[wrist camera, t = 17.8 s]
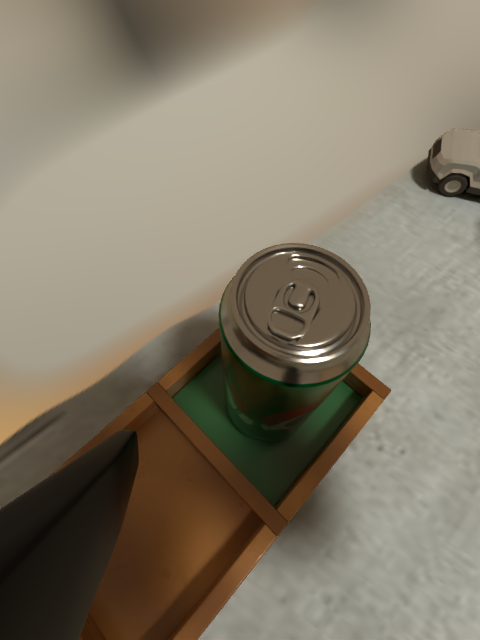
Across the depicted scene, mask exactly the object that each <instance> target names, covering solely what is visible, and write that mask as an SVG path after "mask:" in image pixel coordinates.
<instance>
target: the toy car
mask: <svg viewBox="0 0 480 640" xmlns="http://www.w3.org/2000/svg"><path fill="white" fill-rule="evenodd" d="M427 170H428V175H429V176H430V178H431V180H432V181H433V182H435V183H437V184H438V189H439V191H440V193H442V194H444V195H446V196H454V195H457V194H460V193H461V192H463V191H464V190H465V189H466V192H467V193H471V194H475V195H480V132H476V131H472V130H466V129H452V130H450V131H448V132H446V133H444V134H443V135H442V136H441V137H439V138H438V139H437V140H436V141H435V143H434V144H433V146H432V148H431V149H430V150H429V154H428V163H427ZM438 182H439V183H438Z"/></svg>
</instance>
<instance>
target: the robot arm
mask: <svg viewBox="0 0 480 640" xmlns="http://www.w3.org/2000/svg"><path fill="white" fill-rule="evenodd" d="M138 464H139V451H138V437H137V433H136V431H134V430H119V431H118V432H116V433H114V434H113V435H111V436H110V437H108V438H107V439H105V440H104V441H102V442H101V443H99V444H98V445H96V446H95V447H93V448H92V449H90V450H89V451H87V452H86V453H84V454H83V455H81V456H80V457H78V458H77V459H75V460H74V461H72V462H71V463H69V464H68V465H66V466H65V467H63V468H62V469H60V470H59V471H57V472H56V473H54V474H53V475H51V476H50V477H48V478H47V479H45V480H44V481H42V482H41V483H39V484H38V485H36V486H35V487H33V488H32V489H30V490H29V491H27V492H26V493H24V494H23V495H21V496H20V497H18V498H17V499H15V500H14V501H12V502H11V503H9V504H8V505H6V506H4V507H3V508H1V509H0V640H79V637H80V634H81V632H82V629H83V627H84V624H85V622H86V619H87V616H88V614H89V611H90V609H91V606H92V603H93V601H94V598H95V596H96V593H97V590H98V588H99V585H100V583H101V580H102V578H103V575H104V572H105V570H106V567H107V565H108V562H109V559H110V557H111V554H112V552H113V549H114V547H115V544H116V541H117V539H118V536H119V533H120V530H121V528H122V524H123V521H124V517H125V514H126V510H127V506H128V503H129V499H130V495H131V491H132V488H133V484H134V480H135V477H136V473H137V469H138Z"/></svg>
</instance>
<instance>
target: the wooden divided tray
mask: <svg viewBox="0 0 480 640" xmlns="http://www.w3.org/2000/svg"><path fill="white" fill-rule="evenodd" d="M146 392H147V393H144V394H143V395H142V396H141V397H139V398H138V399H137V400H136V401H135V402H134V403H133V404H132V405H130V406H129V407H128V408H127V409H126V410H125V411H124V412H122V413H121V414H120V415H119V416H118V417H117V418H116V419H114V420H113V421H112V422H111V423H110V424H109V425H108V426H106V427H105V428H104V429H103V430H102V431H101V432H100V433H98V434H97V435H96V436H95V437H94V438H93V439H92V440H90V441H89V442H88V443H87V444H86V445H85V446H84V447H82V448H81V449H80V450H79V451H78V452H77V453H76V454H74V455H73V456H72V457H71V458H70V459H69V460H68V461H66V462H65V463H64V464H63V465H62V466H61V467H60V468H58V469H57V470H56V471H55V472H54V473H56V472H57V471H59V470H60V469H62V468H63V467H65V466H66V465H68V464H69V463H71V462H72V461H74V460H75V459H77V458H78V457H80V456H81V455H83V454H84V453H86V452H87V451H89V450H90V449H92V448H93V447H95V446H96V445H98V444H99V443H101V442H102V441H104V440H105V439H107V438H108V437H110V436H111V435H113V434H114V433H116V432H118V431H119V430H134V431H136V433H137V437H138V451H139V464H138V469H137V473H136V477H135V480H134V484H133V488H132V491H131V495H130V499H129V503H128V506H127V510H126V514H125V517H124V521H123V524H122V528H121V530H120V533H119V536H118V539H117V541H116V544H115V547H114V549H113V552H112V554H111V557H110V559H109V562H108V565H107V567H106V570H105V572H104V575H103V578H102V580H101V583H100V585H99V588H98V590H97V593H96V596H95V598H94V601H93V603H92V606H91V609H90V611H89V614H88V616H87V619H86V622H85V624H84V627H83V629H82V632H81V634H80V637H79V640H198V639H199V637H200V636H201V635H202V633H203V632H204V631H205V630H206V628H207V627H208V626H209V624H210V623H211V622H212V621H213V619H214V618H215V617H216V615H217V614H218V613H219V612H220V610H221V609H222V608H223V606H224V605H225V604H226V603H227V601H228V600H229V599H230V597H231V596H232V595H233V594H234V592H235V591H236V590H237V588H238V587H239V586H240V585H241V583H242V582H243V581H244V579H245V578H246V577H247V576H248V574H249V573H250V572H251V570H252V569H253V568H254V567H255V565H256V564H257V563H258V561H259V560H260V559H261V558H262V556H263V555H264V554H265V552H266V551H267V550H268V549H269V547H270V546H271V545H272V543H273V542H274V541H275V540H276V538H277V536H279V535H280V533H281V532H282V531H283V530H284V528H285V527H286V526H287V524H288V522H290V520H291V519H292V518H293V517H294V515H295V514H296V513H297V511H298V510H299V509H300V508H301V506H302V505H303V504H304V502H305V501H306V500H307V499H308V497H309V496H310V495H311V493H312V492H313V491H314V490H315V488H316V487H317V486H318V484H319V483H320V482H321V481H322V479H323V478H324V477H325V475H326V474H327V473H328V472H329V470H330V469H331V468H332V466H333V465H334V464H335V463H336V461H337V460H338V459H339V457H340V456H341V455H342V454H343V452H344V451H345V450H346V448H347V447H348V446H349V445H350V443H351V442H352V441H353V439H354V438H355V437H356V436H357V434H358V433H359V432H360V430H361V429H362V428H363V427H364V425H365V424H366V423H367V421H368V420H369V419H370V418H371V416H372V415H373V414H374V412H375V411H376V410H377V409H378V407H379V406H380V405H381V403H382V402H383V401H384V399H385V398H386V397H387V396H388V394H389V393H390V392H391V389H389V388H388V387H387V386H386V385H384V384H383V383H382V382H381V381H379V380H378V379H377V378H376V377H374V376H373V375H372V374H371V373H369V372H368V371H367V370H366V369H365V368H363V367H362V366H361V365H360V364H357V365H356V366H355V367H354V368H353V369H352V370H351V372H350V373H349V374H348V375H347V376H346V377H345V378H344V379H343V380H342V381H341V383H340V384H339V385H338V386H337V387H336V388H335V389H334V390H333V391H332V393H331V394H330V395H329V396H328V397H327V398H326V399H325V400H324V401H323V403H322V404H321V405H320V406H319V407H318V408H317V409H316V410H315V411H314V412H313V414H312V415H311V416H310V417H309V418H308V419H307V420H306V421H305V422H304V424H303V425H302V426H301V427H300V428H299V429H298V430H297V431H296V432H295V433H294V434H292V435H291V436H289V437H287V438H285V439H283V440H279V441H274V442H263V441H258V440H255V439H252V438H250V437H248V436H246V435H245V434H243V433H242V432H241V431H239V430H238V429H237V428H236V426H235V425H234V424H233V423H232V421H231V419H230V418H229V415H228V413H227V410H226V406H225V395H224V381H223V367H222V354H221V340H220V328H218V329H217V330H216V331H215V332H214V333H213V334H212V335H210V336H209V337H208V338H207V339H206V340H205V341H204V342H202V343H201V344H200V345H199V346H198V347H197V348H196V349H194V350H193V351H192V352H191V353H190V354H189V355H188V356H186V357H185V358H184V359H183V360H182V361H181V362H180V363H178V364H177V365H176V366H175V367H174V368H173V369H172V370H170V371H169V372H168V373H167V374H166V375H165V376H164V377H162V378H161V379H160V380H159V381H158V383H155V384H154V385H153V386H152V387H151V388H150V389H148V390H147V391H146ZM54 473H53V474H54ZM53 474H52V475H53ZM50 476H51V475H50ZM50 476H49V477H50Z"/></svg>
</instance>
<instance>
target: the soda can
mask: <svg viewBox="0 0 480 640" xmlns="http://www.w3.org/2000/svg"><path fill="white" fill-rule="evenodd" d="M219 326H220V340H221V354H222V367H223V381H224V395H225V406H226V410H227V413H228V415H229V418H230V419H231V421H232V423H233V424H234V425H235V426H236V428H237V429H238V430H239V431H241V432H242V433H243V434H245V435H246V436H248V437H250V438H252V439H255V440H258V441H263V442H274V441H279V440H283V439H285V438H287V437H289V436H291V435H292V434H294V433H295V432H296V431H297V430H298V429H299V428H300V427H301V426H302V425H303V424H304V422H305V421H306V420H307V419H308V418H309V417H310V416H311V415H312V414H313V412H314V411H315V410H316V409H317V408H318V407H319V406H320V405H321V404H322V403H323V401H324V400H325V399H326V398H327V397H328V396H329V395H330V394H331V393H332V391H333V390H334V389H335V388H336V387H337V386H338V385H339V384H340V383H341V381H342V380H343V379H344V378H345V377H346V376H347V375H348V374H349V373H350V372H351V370H352V369H353V368H354V367H355V366H356V365H357V364H358V362H359V361H360V359H361V358H362V356H363V355H364V353H365V350H366V348H367V346H368V342H369V338H370V330H371V322H370V299H369V295H368V292H367V289H366V286H365V284H364V283H363V281H362V279H361V277H360V276H359V275H358V273H357V272H356V271H355V270H354V269H353V268H352V267H351V266H350V265H349V264H348V263H347V262H346V261H345V260H343V259H342V258H341V257H339V256H337V255H336V254H334V253H332V252H330V251H328V250H325V249H323V248H320V247H317V246H313V245H308V244H299V243H288V244H281V245H275V246H272V247H269V248H266V249H263V250H261V251H259V252H257V253H256V254H254V255H253V256H251V257H250V258H249V259H248V260H247V261H246V262H245V263H244V264H243V265H242V266H241V267H240V269H239V270H238V272H237V273H236V275H235V276H234V277H233V278H232V280H231V281H230V282H229V284H228V285H227V287H226V289H225V291H224V293H223V295H222V299H221V302H220V307H219Z"/></svg>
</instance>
